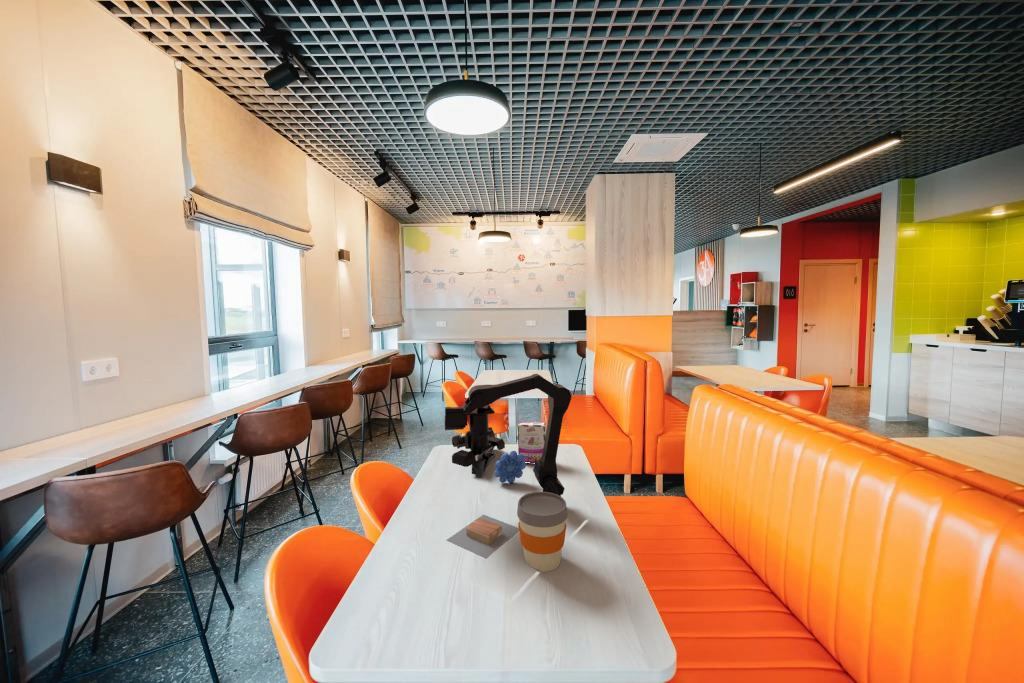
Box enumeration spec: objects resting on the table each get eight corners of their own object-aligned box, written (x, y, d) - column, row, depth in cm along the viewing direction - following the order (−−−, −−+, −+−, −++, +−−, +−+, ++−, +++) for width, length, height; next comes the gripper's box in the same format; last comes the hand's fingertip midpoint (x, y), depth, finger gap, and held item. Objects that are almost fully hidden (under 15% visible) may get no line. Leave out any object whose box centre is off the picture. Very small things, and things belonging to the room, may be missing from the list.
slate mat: (483, 516, 120) (483, 514, 120) (521, 530, 112) (521, 528, 112) (446, 542, 107) (446, 540, 107) (486, 560, 99) (486, 558, 99)
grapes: (524, 477, 148) (524, 446, 147) (527, 485, 141) (526, 452, 140) (493, 478, 147) (493, 447, 146) (494, 486, 140) (494, 454, 139)
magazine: (477, 457, 145) (493, 413, 172) (469, 456, 145) (486, 412, 173) (481, 493, 151) (496, 445, 178) (473, 493, 151) (489, 445, 179)
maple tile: (480, 517, 114) (466, 526, 109) (502, 525, 110) (488, 536, 105) (480, 525, 114) (466, 535, 109) (502, 534, 110) (488, 544, 105)
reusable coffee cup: (533, 583, 91) (533, 521, 90) (509, 553, 102) (508, 498, 101) (577, 566, 97) (577, 507, 95) (549, 539, 108) (549, 487, 106)
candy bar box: (546, 460, 163) (546, 422, 162) (545, 465, 158) (545, 425, 157) (519, 459, 165) (519, 421, 164) (518, 463, 160) (517, 424, 159)
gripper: (478, 416, 131) (479, 462, 132) (437, 431, 116) (439, 482, 117) (505, 422, 124) (506, 469, 126) (465, 438, 109) (467, 492, 110)
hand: (480, 477), depth 120 cm, fingers closed
